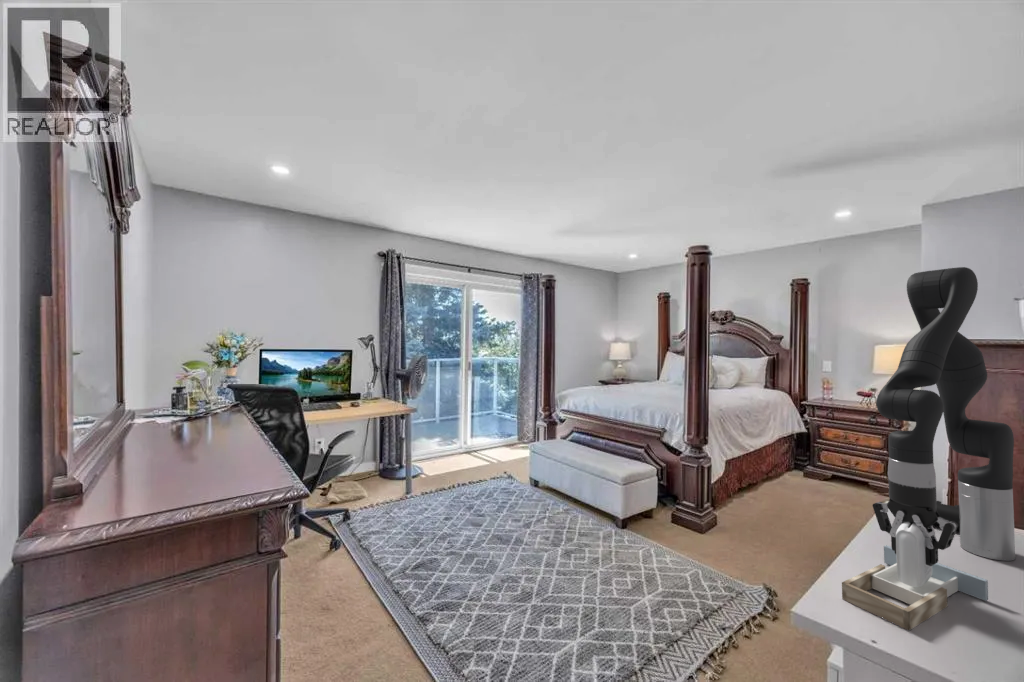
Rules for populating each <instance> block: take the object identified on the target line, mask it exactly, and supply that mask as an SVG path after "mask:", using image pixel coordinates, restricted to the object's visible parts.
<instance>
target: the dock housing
mask: <svg viewBox="0 0 1024 682" xmlns="http://www.w3.org/2000/svg"><path fill="white" fill-rule="evenodd" d="M885 568H886V566H885V564H879V565H877V566H874V567H872V568H869V569H868V570H865V571H863V572H861V573H859V574H857V575H854V576H853V577H850V578H849V579H846V580H844V581H841V595H842V596H841V597H842V598H841V599H842V600H843V601H846V602H848V603H850V604H852V605H854V606H856V607H858V608H860V609H863V611H867V612H868V613H871V614H873V615H875V616H877V617H879V616H880V617H879V618H881V617H883V618H884V620H885V619H886V620H885V621H888V622H890V623H892V622H893V624H894V623H895V624H894V625H896V626H898V625H899V626H898V627H901V628H902V629H904V630H907V631H911V630H912V629H915V628H916V627H917V626H918V625H921V624H923V622H925V621H926V620H928V619H930V618H932V617H933V616H935V615H936V614H938V613H939V612H941V611H943V610H944V609H946V608H947V607H948V597H947V589H945V588H942V587H941V588H939V589H938V590H936V591H934V592H932V593H931V594H929V595H927V596H926V597H924V598H922V599H920V600H919V601H917V602H915V603H913V604H912V605H910V604H909V605H908V606H906V607H903V606H901V605H898V604H895V603H894V602H893V601H892V602H891V601H889V600H887V599H885V598H882V597H880V596H877V595H875V594H873V593H871V592H869V590H871V589H873V588H872V577H871V575H873V574H875V573H877V572H879V571H881V570H883V569H885ZM883 618H882V619H883Z"/></svg>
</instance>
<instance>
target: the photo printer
mask: <svg viewBox="0 0 1024 682" xmlns="http://www.w3.org/2000/svg"><path fill="white" fill-rule="evenodd" d="M926 530H927V529H926ZM925 548H926V544H925V537H924V536H923V533H922V532H921V530H920V529H919V528H918V527H917V526H916V524H915V523H913V524H912V525H911V523H910V522H904V523H902V524H901V525H900V526H899V528H898V529H897V532H896V557H897V577H898V580H900V581H901V582H902V583H904V584H906V585H909V586H912V587H921V586H923V585H924V584H925V583H926V582H927V581H928V580H929V579H930V577H931V576H932V566H929V565H926V557H925Z"/></svg>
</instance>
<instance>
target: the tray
mask: <svg viewBox="0 0 1024 682" xmlns="http://www.w3.org/2000/svg"><path fill="white" fill-rule="evenodd" d="M883 560H884V561H883V562H884V564H886V565H889V566H887V567H885V569H883V570H881V571H879V572H877V573H875V574H873V575H871V577H872V589H873V590H875V591H877V592H880V593H883V594H884V595H887V596H889V597H892V598H894V599H896V600H899V601H901V602H903V603H906V604H907V605H909V606H910V605H912V604H913V603H915V602H917V601H919V600H920V599H922V598H924V597H926V596H927V595H929V594H931V593H932V592H934V591H936V590H938V589H939V588H941V587H942V588H945V589H947V598H948V597H949V596H952V595H953V594H955V593H957V592H961V593H964V594H967V595H969V596H972V597H975V598H978V599H980V600H983V601H986V602H987V601H988V600H989V583H988V579H986V578H984V577H980V576H978V575H974V574H971V573H968V572H966V571H963V570H960V569H957V568H955V567H951V566H948V565H945V564H943V563H939V562H937V563H936V564H934V565H932V576H931V577H930V579H929V580H928V581H927V582H926V583H925V584H924V585H923V586H921V587H912V586H909V585H906V584H904V583H902V582H901V581H900V580H898V577H897V557H896V554H895V551H893V550H892V546H891V545H888V544H886V545H884V546H883Z"/></svg>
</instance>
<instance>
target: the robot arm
mask: <svg viewBox="0 0 1024 682" xmlns="http://www.w3.org/2000/svg"><path fill="white" fill-rule="evenodd" d="M978 284H979V282H978V278H977V276H976V273H975V272H974V271H973V270H972V269H971V268H969V267H965V266H964V267H963V266H960V267H949V268H943V269H942V268H941V269H934V270H925V271H919V272H914V273H912V274H911V275H910V276H909V277H908V278H907V283H906V293H907V298H908V302H909V304H910V307H911V310H912V312H913V315H914V317H915V319H916V321H917V325H918V326H919V329H920V330H919V332H917V333H916V334H914V336H913V337H912V338H911V339H910V340H909V341H908V342H907V343H906V345H905V346H904V349H903V350H902V354H901V357H900V359H899V363H898V366H897V369H896V371H895V372H894V373H893V374H892V376H891V377H890V378H889V379H888V381H887V382H886V383H885V384H884V386H883V387H882V388H881V390H880V391H879V392H878V394H877V398H876V402H875V403H876V406H875V407H876V409H877V411H878V413H879V414H880V416H882V417H884V418H886V419H889V420H896V421H905V422H912V423H915V426H914V428H913V429H912V430H896V431H891V433H890V434H889V435H888V463H887V464H888V465H887V479H888V482H887V483H888V498H889V500H888V502H883V501H877V502H874V503H872V508H873V511H874V515H875V516H876V520H877V524H878V526H879V529H880V530H881V531H882V532H885V533H887V534H889V536H890V542H891V545H890V547H892V550H893V551H895V554H896V532H897V529H898V528H899V526H900V525H901V524H902V523H904V522H910V523H911V525H912V524H913V523H915V524H916V526H917V527H918V528H919V529H920V530H921V532H922V533H923V536H924V537H925V544H926V548H925V557H926V565H929V566H932V565H934V564H936V563H939V550H942V551H945V550H946V549H948V548H950V547H951V545H952V543H953V540H954V537H955V535H956V532H957V531H956V530H957V527H958V524H957V523H956V522H955V521H951V522H950V521H948V520H945V519H943V518H941V517H940V515H939V514H938V512H937V501H938V500H937V477H936V469H935V466H934V465H935V463H934V441H935V436H936V433H937V429H938V426H939V424H940V421H941V419H942V416H943V419H944V424H945V426H944V427H945V431H946V436H947V441H948V444H949V445H950V448H951V449H952V450H953V451H954V452H956V453H959V454H961V455H965V456H973V457H979V458H985V459H989V461H988V464H986V465H982V466H971V467H963V468H960V469H959V470H958V471H957V484H958V486H957V487H958V489H957V490H958V505H959V519H960V531H959V543H960V547H961V548H962V549H963V550H965V551H967V552H968V553H970V554H974V555H976V556H980V557H981V558H986V559H991V560H996V561H1005V562H1006V561H1009V562H1010V561H1014V560H1016V544H1015V543H1016V541H1015V540H1016V537H1015V535H1016V534H1015V512H1014V509H1015V507H1014V489H1013V488H1014V487H1013V486H1014V485H1013V477H1014V448H1015V447H1014V445H1015V438H1014V433H1013V430H1012V428H1011V426H1009V424H1006V423H1004V422H999V421H988V420H980V419H970V418H968V417H967V415H966V408H967V406H968V405H969V403H970V402H971V400H972V399H973V398H974V397H975V396H976V395H978V393H979V392H980V391H981V389H982V388H983V387H984V386H985V384H986V382H987V380H988V372H987V367H986V363H985V360H984V355H983V352H982V351H981V350H980V349H979V347H978V346H977V345H976V344H975V343H974V342H972V341H971V340H970V339H968V338H967V337H966V336H965V335H963V334H962V333H960V331H959V330H960V329H961V328H962V326H963V323H964V321H965V320H966V317H967V315H968V313H969V312H970V310H971V308H972V306H973V305H974V302H975V300H976V298H977V294H978V290H979V289H978V288H979V285H978ZM939 309H942V310H941V311H940V310H939ZM934 385H935V386H936V387H937V390H938V393H936V392H934V391H932V390H927V389H920V388H924V387H932V386H934ZM918 388H919V389H918ZM889 511H890V513H891V514H892V516H893V517H894V520H893V522H892V524H891V520H890V518H889V514H888V512H889ZM936 522H938V523H939V524H940V526H939V528H940V530H941V531H942V532H941V534H940V537H939V539H937V536H936V531H935V529H934V527H933V526H934V525H933V524H935V523H936ZM926 529H927V530H926Z"/></svg>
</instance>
